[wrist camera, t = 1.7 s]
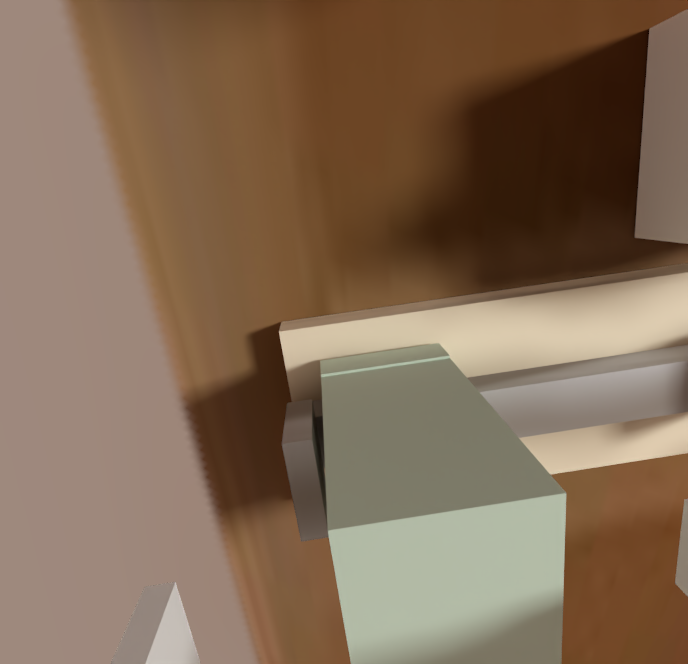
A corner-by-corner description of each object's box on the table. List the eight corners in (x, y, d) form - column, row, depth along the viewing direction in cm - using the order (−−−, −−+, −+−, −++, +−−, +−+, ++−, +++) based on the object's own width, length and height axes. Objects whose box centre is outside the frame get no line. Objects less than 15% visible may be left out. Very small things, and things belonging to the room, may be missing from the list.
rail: (281, 321, 19) (267, 374, 13) (717, 258, 20) (884, 283, 14) (312, 491, 22) (311, 595, 16) (694, 431, 22) (826, 511, 17)
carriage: (320, 360, 18) (327, 526, 9) (438, 343, 18) (566, 489, 9) (340, 486, 20) (363, 729, 11) (447, 469, 20) (560, 696, 11)
